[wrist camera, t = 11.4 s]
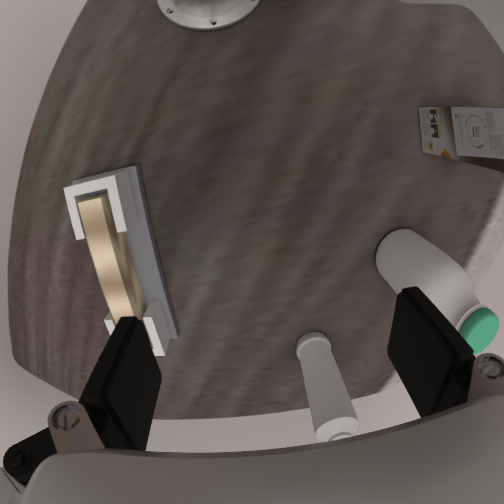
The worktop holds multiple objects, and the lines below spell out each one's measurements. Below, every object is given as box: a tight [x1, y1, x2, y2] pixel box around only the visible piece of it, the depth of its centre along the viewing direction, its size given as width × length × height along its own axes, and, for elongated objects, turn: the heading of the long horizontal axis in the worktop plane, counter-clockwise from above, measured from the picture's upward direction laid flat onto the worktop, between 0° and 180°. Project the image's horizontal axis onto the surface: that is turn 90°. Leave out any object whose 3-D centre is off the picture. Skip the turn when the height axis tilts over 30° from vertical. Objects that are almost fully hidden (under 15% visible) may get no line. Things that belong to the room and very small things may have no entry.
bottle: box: [296, 332, 359, 442], centre depth 33 cm, size 5×5×25 cm
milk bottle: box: [376, 229, 499, 355], centre depth 31 cm, size 8×8×20 cm
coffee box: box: [419, 107, 504, 173], centre depth 26 cm, size 9×6×16 cm
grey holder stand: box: [64, 164, 180, 356], centre depth 36 cm, size 24×9×6 cm, turn 7°
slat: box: [78, 191, 151, 341], centre depth 35 cm, size 20×3×4 cm, turn 7°
